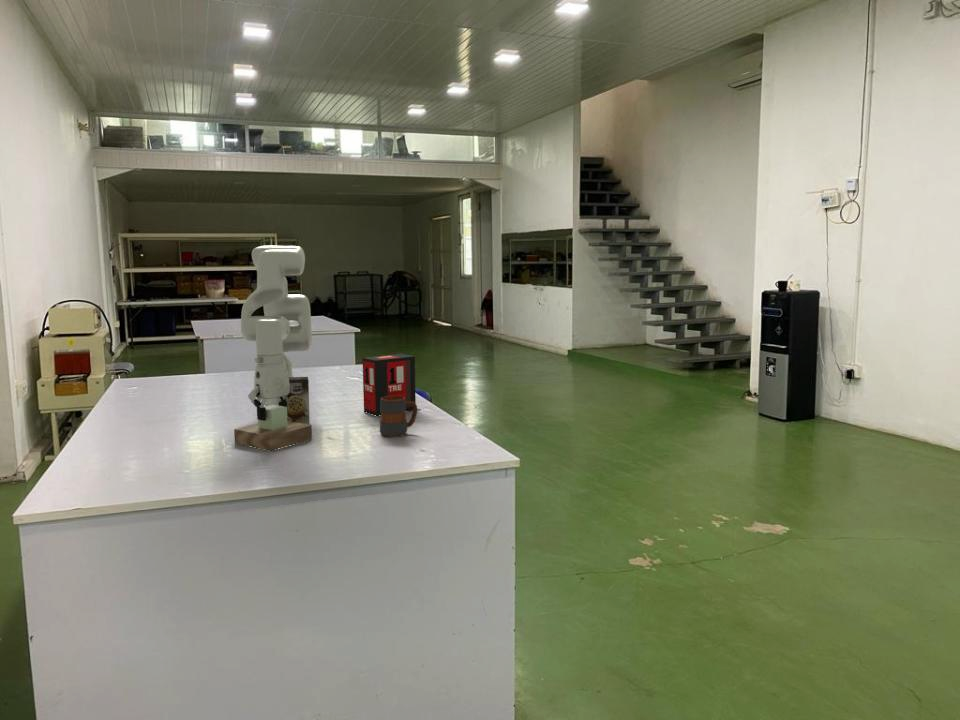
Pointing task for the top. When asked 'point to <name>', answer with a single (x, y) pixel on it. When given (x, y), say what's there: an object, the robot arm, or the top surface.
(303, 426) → the walnut block
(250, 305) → the robot arm
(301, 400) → the coffee box
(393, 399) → the mug
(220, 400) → the top surface
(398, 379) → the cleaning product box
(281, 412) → the sage cube
